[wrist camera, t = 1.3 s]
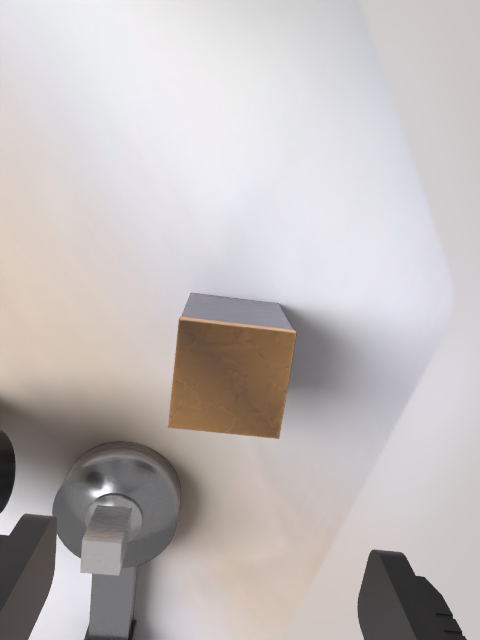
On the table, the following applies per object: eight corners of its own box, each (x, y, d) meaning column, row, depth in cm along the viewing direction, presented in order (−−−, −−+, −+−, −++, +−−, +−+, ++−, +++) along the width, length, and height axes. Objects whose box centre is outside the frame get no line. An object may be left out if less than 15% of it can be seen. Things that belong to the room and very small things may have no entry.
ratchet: (67, 436, 30) (30, 491, 24) (186, 447, 31) (177, 504, 25) (58, 676, 35) (25, 768, 29) (159, 682, 36) (147, 775, 30)
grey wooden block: (189, 291, 28) (178, 319, 21) (279, 302, 28) (296, 333, 22) (181, 376, 29) (168, 427, 23) (266, 385, 30) (279, 438, 23)
